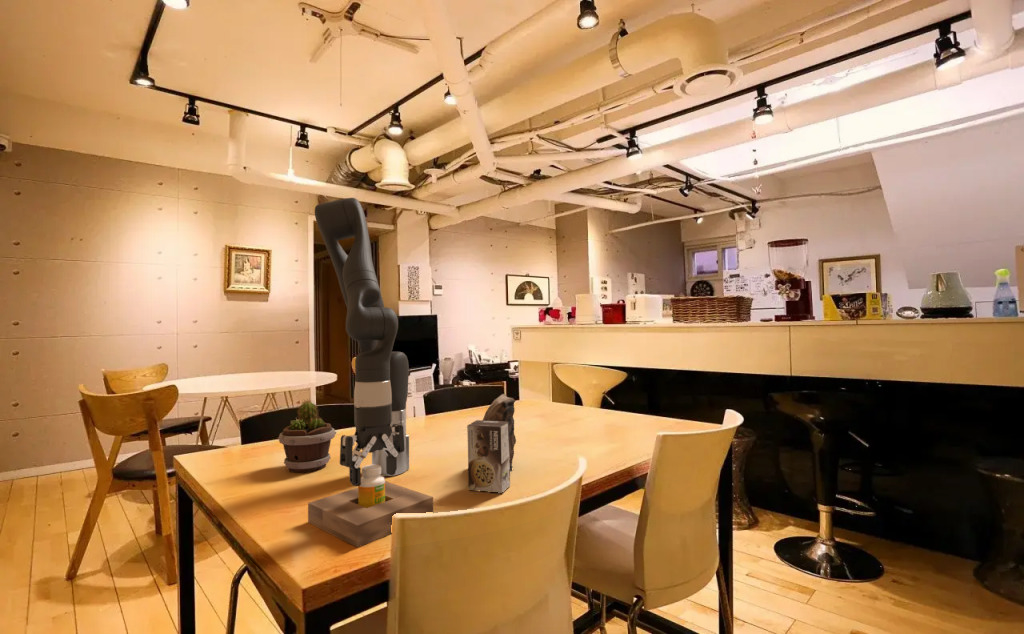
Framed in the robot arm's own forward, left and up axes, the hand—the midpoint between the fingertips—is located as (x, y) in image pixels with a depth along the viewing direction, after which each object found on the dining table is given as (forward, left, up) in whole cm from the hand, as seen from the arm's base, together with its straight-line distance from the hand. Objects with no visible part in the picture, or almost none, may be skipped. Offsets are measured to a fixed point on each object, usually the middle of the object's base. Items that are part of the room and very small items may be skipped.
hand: (373, 479), depth 98 cm
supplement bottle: (0, 0, -7) cm, 7 cm away
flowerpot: (-10, -46, -8) cm, 48 cm away
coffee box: (-29, +7, -8) cm, 31 cm away
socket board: (0, 0, -8) cm, 8 cm away
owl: (-43, -4, -8) cm, 44 cm away
